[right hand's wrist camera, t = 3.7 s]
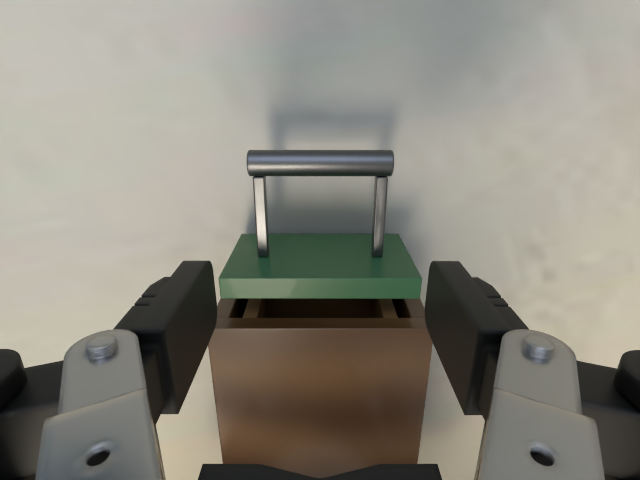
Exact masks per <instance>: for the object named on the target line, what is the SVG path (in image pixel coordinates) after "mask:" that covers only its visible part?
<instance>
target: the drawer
mask: <svg viewBox="0 0 640 480" xmlns="http://www.w3.org/2000/svg"><path fill="white" fill-rule="evenodd" d="M393 169H394V154H393V151H391V150H249V151H248V153H247V170H248V174H249V176H254V177H253V188H254V204H255V220H256V234H242V235H241V237H240V239H239V240H238V242H237V244H236V246H235V248H234V250H233V252H232V254H231V256H230V258H229V260H228V261H227V263H226V265H225V267H224V269H223V271H222V273H221V275H220V277H219V286H220V296H221V299H249V300H248V303H247V306H246V309H245V312H244V315H243V318H398V317H397V314H396V311H395V308H394V305H393V302H392V299H420V292H421V282H422V278H421V276H420V274H419V272H418V270H417V268H416V266H415V264H414V262H413V261H412V259H411V257H410V255H409V253H408V251H407V249H406V247H405V245H404V243H403V242H402V240H401V238H400V236H399V234H384V229H385V214H386V198H387V183H388V177H387V176H391V175H392V173H393ZM266 176H375V188H374V207H373V226H372V234H268V214H267V194H266Z"/></svg>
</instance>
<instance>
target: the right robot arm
mask: <svg viewBox="0 0 640 480" xmlns="http://www.w3.org/2000/svg"><path fill="white" fill-rule="evenodd" d="M216 322H217V302H216V293H215V284H214V275H213V268H212V264H211V262H210V261H183V262H182V263H181V264H180V266H179V267H178V268H177V269H176V271H175V272H174V273H173V275H172V276H171V277H164V278H162V279H160V280H159V281H157V282H155V283H154V284H152V285H150V286H149V288H148V289H147V290H146V291H145V292H144V293H143V295H142V298H139V299H138V301H137V302H136V303H135V306H132V308H131V309H130V310H129V311H128V312H127V314H126V315H125V316H124V317H123V318H122V320H121V321H120V322H119V323H118V324H117V325H116V327H115V328H114V329H113V330H106V331H101V332H98V333H95V334H92V335H89V336H87V337H85V338H83V339H81V340H79V341H78V342H76V343H75V344H74V345H72V346H71V347H70V348H69V349H68V351H67V352H66V354H65V356H64V360H63V361H59V362H54V363H49V364H43V365H38V366H33V367H28V368H24V366H23V363H22V360H21V357H20V355H19V353H18V352H16V351H14V350H10V349H0V480H166V479H165V473H164V468H163V462H162V456H161V451H160V445H159V440H158V434H157V429H156V423H157V421H158V419H159V416H160V414H178V413H179V411H180V409H181V406H182V404H183V402H184V399H185V397H186V395H187V393H188V390H189V388H190V386H191V383H192V381H193V379H194V376H195V374H196V372H197V369H198V367H199V365H200V362H201V360H202V358H203V355H204V353H205V351H206V348H207V346H208V344H209V341H210V339H211V337H212V334H213V332H214V330H215V327H216ZM425 322H426V327H427V330H428V332H429V335H430V337H431V339H432V342H433V344H434V346H435V348H436V351H437V353H438V355H439V358H440V360H441V362H442V364H443V367H444V369H445V371H446V374H447V376H448V378H449V381H450V383H451V385H452V387H453V390H454V392H455V394H456V397H457V399H458V401H459V403H460V406H461V408H462V410H463V413H464V415H483V417H484V419H485V425H484V429H483V434H482V440H481V445H480V451H479V456H478V462H477V468H476V473H475V479H474V480H640V350H633V351H628V352H626V353H624V354H623V355H622V357H621V360H620V363H619V365H618V368H617V369H616V368H611V367H606V366H600V365H595V364H590V363H585V362H581V361H577V360H576V356H575V354H574V352H573V351H572V349H571V348H570V347H569V346H568V345H566V344H565V343H564V342H562V341H561V340H559V339H557V338H555V337H553V336H551V335H548V334H545V333H542V332H539V331H534V330H529V329H528V327H527V326H526V325H525V324H524V323H523V321H522V320H521V319H520V318H519V317H518V316H517V314H516V313H515V312H514V311H513V310H512V309H511V307H508V304H507V303H506V302H505V300H504V299H503V298H501V296H500V295H499V293H498V292H497V291H496V290H495V289H494V288H493V286H491V285H490V284H488V283H486V282H485V281H483V280H481V279H479V278H478V277H471V276H470V274H469V273H468V272H467V271H466V269H465V268H464V267H463V266H462V264H461V263H460V262H459V261H433V262H432V263H431V265H430V268H429V276H428V285H427V294H426V303H425ZM198 480H442V478H441V475H440V472H439V468H438V465H437V464H378V465H374V466H370V467H366V468H362V469H358V470H354V471H350V472H346V473H342V474H338V475H334V476H330V477H325V478H315V477H310V476H306V475H302V474H298V473H294V472H290V471H286V470H282V469H278V468H274V467H270V466H266V465H262V464H203V465H202V468H201V472H200V475H199V478H198Z"/></svg>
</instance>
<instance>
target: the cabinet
mask: <svg viewBox="0 0 640 480" xmlns="http://www.w3.org/2000/svg"><path fill="white" fill-rule="evenodd" d="M248 300H249V299H220V301H219V303H218V305H217V322H216V327H215V330H214V332H213V334H212V337H211V339H210V341H209V344H208V347H209V355H210V363H211V371H212V379H213V387H214V395H215V403H216V411H217V419H218V427H219V435H220V444H221V452H222V460H223V464H262V465H266V466H270V467H274V468H278V469H282V470H286V471H290V472H294V473H298V474H302V475H306V476H310V477H315V478H325V477H330V476H334V475H338V474H342V473H346V472H350V471H354V470H358V469H362V468H366V467H370V466H374V465H378V464H417V461H418V453H419V446H420V438H421V430H422V422H423V414H424V406H425V398H426V390H427V383H428V375H429V367H430V359H431V351H432V343H433V342H432V339H431V337H430V335H429V332H428V330H427V327H426V322H425V308H424V306H423V304H422V302H421V300H420V299H392V302H393V305H394V308H395V311H396V314H397V317H398V318H243V315H244V312H245V309H246V306H247V303H248Z"/></svg>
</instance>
